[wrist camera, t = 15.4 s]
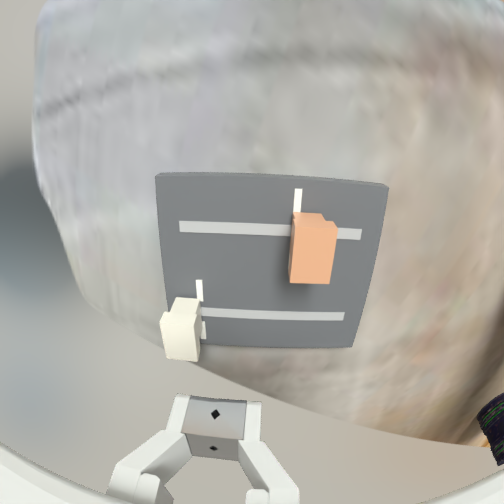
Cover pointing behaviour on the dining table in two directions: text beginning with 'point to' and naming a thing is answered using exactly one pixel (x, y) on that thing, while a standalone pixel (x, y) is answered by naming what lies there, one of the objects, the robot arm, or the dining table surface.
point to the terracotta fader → (311, 248)
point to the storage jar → (494, 426)
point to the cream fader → (182, 329)
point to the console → (266, 255)
